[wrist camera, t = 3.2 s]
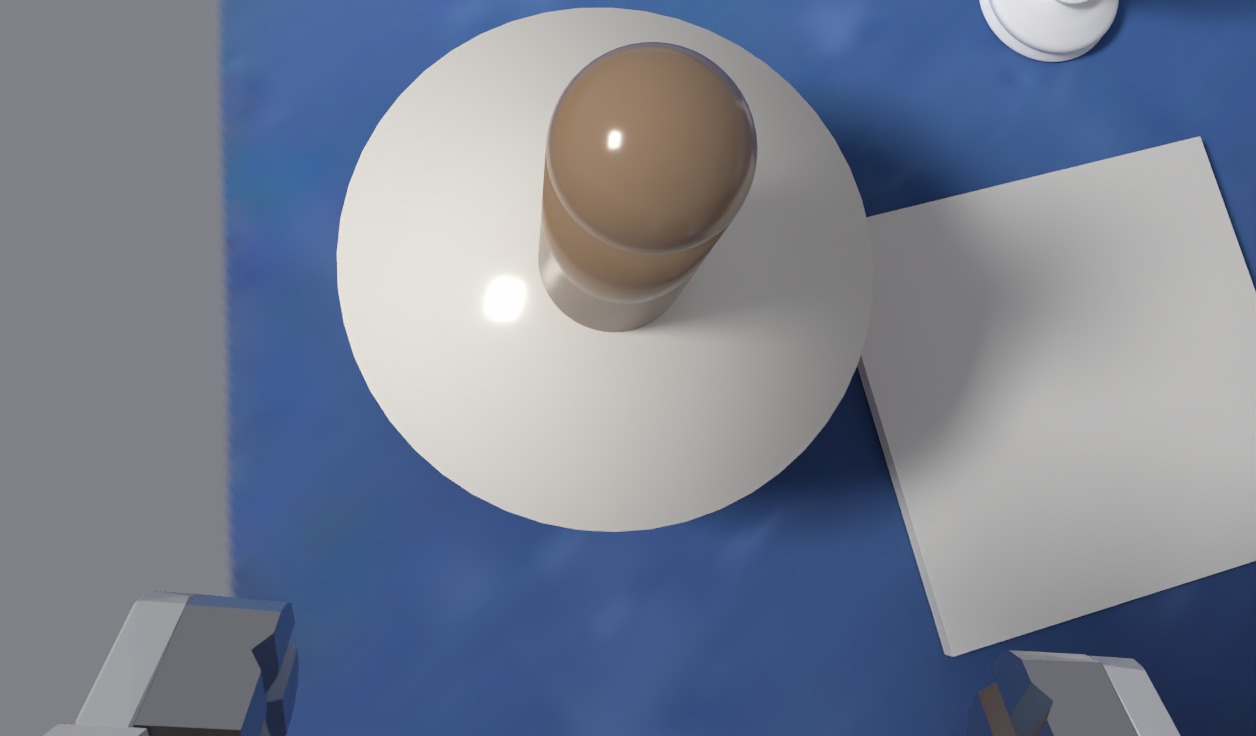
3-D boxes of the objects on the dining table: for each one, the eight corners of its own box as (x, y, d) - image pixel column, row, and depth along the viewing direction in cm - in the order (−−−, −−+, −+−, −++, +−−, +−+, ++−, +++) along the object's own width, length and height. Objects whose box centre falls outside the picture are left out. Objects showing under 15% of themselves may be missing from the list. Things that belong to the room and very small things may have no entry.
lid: (774, -6, 27) (929, -325, 17) (915, 453, 25) (1180, 412, 15) (295, 91, 25) (140, -200, 15) (417, 594, 23) (338, 654, 13)
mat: (1188, 142, 34) (1200, 136, 34) (1327, 533, 33) (1341, 533, 32) (816, 233, 32) (822, 228, 32) (944, 654, 31) (952, 656, 30)
